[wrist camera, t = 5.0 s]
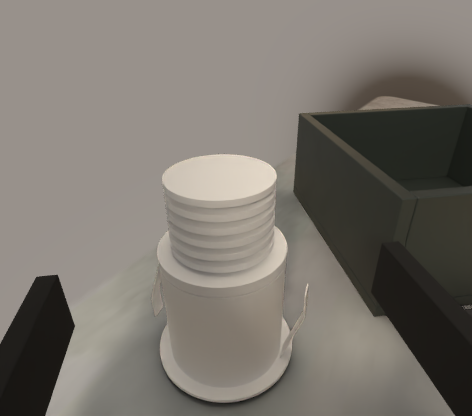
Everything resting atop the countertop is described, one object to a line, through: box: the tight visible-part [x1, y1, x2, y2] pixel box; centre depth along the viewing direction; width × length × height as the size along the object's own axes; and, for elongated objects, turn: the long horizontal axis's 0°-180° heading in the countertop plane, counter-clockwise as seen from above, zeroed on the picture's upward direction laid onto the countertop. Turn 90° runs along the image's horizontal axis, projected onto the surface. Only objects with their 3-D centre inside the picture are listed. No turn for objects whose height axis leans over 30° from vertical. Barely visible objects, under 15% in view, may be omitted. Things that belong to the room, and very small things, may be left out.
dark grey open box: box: [294, 104, 472, 316], centre depth 27 cm, size 17×17×8 cm
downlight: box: [151, 154, 308, 403], centre depth 17 cm, size 8×7×10 cm
